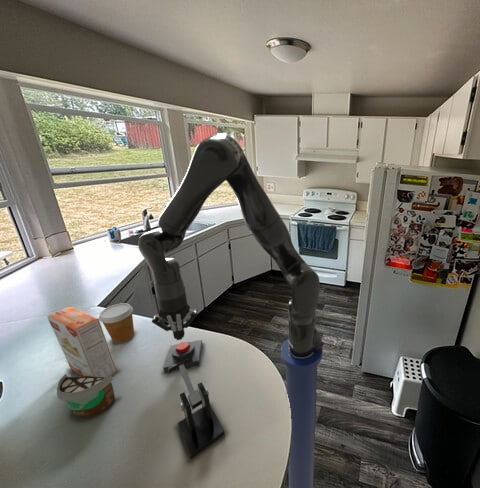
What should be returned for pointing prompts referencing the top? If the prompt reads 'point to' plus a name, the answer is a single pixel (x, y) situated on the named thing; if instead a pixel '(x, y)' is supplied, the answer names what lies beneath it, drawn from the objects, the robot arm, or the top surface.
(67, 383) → the food container
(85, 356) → the cracker box
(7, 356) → the top surface
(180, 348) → the button
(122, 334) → the orange tub white lid
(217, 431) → the bracket
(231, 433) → the top surface
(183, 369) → the lever
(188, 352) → the button box
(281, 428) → the top surface
